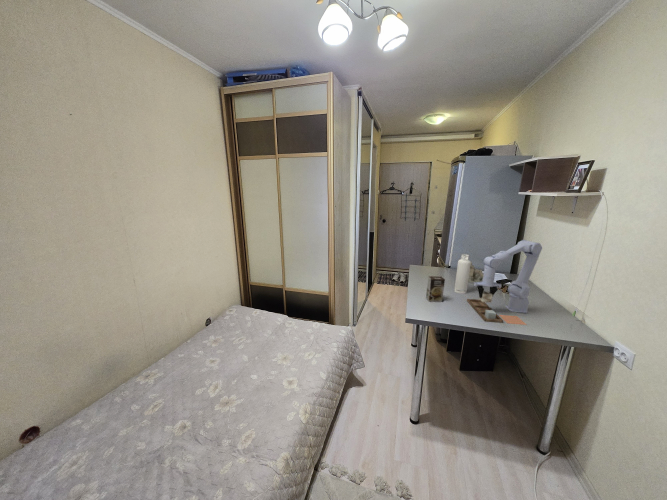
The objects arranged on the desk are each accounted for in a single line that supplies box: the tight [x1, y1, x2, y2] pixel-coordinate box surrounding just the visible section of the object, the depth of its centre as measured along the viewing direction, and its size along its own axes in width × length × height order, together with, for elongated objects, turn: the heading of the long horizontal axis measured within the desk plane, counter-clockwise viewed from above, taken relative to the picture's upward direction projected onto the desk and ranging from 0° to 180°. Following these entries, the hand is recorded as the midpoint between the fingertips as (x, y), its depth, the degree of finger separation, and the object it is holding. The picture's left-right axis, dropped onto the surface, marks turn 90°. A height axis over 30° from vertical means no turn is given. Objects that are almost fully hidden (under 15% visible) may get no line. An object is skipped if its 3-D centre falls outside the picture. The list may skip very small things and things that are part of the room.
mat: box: [498, 314, 528, 326], centre depth 143 cm, size 10×10×1 cm
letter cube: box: [478, 290, 493, 303], centre depth 151 cm, size 5×5×5 cm
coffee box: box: [425, 275, 446, 303], centre depth 167 cm, size 9×6×16 cm
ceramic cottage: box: [468, 261, 484, 284], centre depth 204 cm, size 16×16×15 cm
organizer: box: [466, 298, 504, 324], centre depth 153 cm, size 10×27×2 cm, turn 172°
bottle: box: [454, 253, 472, 295], centre depth 180 cm, size 8×8×28 cm
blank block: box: [485, 309, 497, 319], centre depth 144 cm, size 4×4×4 cm
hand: (485, 297), depth 151 cm, fingers closed on letter cube, 5 cm apart
